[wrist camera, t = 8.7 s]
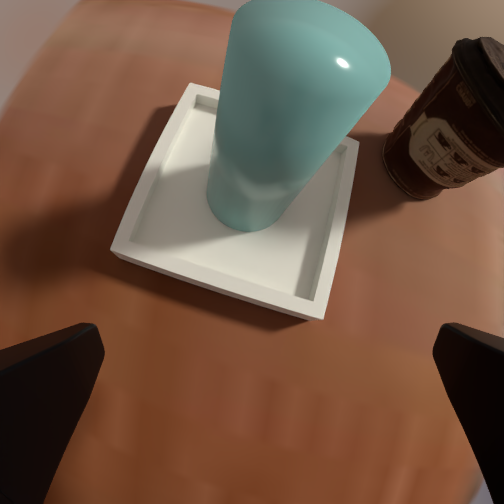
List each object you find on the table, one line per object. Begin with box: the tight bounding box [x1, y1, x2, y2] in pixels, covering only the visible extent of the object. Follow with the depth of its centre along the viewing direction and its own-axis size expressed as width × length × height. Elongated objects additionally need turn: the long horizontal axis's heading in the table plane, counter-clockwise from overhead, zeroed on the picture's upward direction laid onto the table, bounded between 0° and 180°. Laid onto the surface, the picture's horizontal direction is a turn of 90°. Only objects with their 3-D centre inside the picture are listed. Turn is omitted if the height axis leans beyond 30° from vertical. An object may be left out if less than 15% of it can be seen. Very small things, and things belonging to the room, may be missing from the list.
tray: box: [110, 83, 359, 321], centre depth 19 cm, size 12×12×2 cm
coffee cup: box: [382, 37, 504, 199], centre depth 17 cm, size 9×8×13 cm
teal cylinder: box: [206, 0, 391, 232], centre depth 13 cm, size 5×5×12 cm
